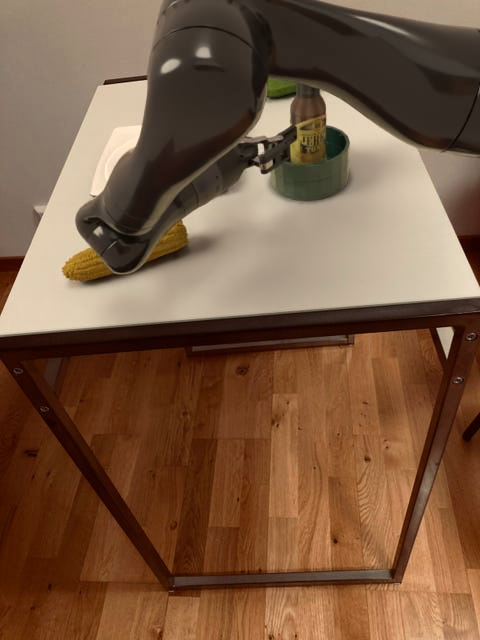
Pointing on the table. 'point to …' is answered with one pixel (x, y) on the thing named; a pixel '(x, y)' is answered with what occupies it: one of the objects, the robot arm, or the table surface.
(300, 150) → the sauce bottle
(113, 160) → the plate
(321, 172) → the pot
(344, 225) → the table surface
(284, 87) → the vegetable
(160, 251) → the food
